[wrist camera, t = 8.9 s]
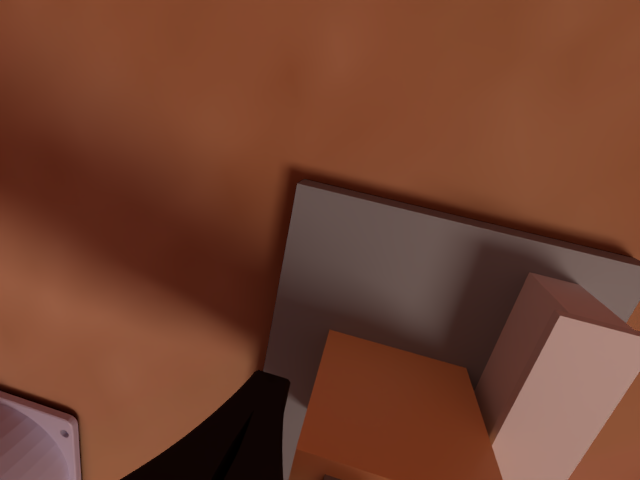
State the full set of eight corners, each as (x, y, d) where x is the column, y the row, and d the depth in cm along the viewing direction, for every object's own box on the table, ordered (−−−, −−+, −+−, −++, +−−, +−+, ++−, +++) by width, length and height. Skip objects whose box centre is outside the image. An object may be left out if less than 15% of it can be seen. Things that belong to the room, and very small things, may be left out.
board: (477, 531, 16) (503, 649, 12) (252, 456, 17) (216, 544, 13) (634, 258, 11) (754, 321, 7) (304, 178, 12) (269, 201, 9)
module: (431, 448, 13) (457, 634, 9) (309, 410, 14) (267, 565, 9) (466, 368, 12) (521, 535, 7) (329, 329, 13) (292, 460, 8)
